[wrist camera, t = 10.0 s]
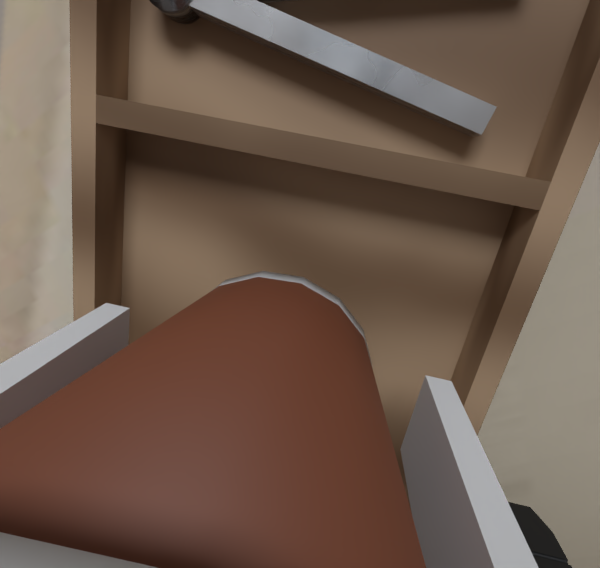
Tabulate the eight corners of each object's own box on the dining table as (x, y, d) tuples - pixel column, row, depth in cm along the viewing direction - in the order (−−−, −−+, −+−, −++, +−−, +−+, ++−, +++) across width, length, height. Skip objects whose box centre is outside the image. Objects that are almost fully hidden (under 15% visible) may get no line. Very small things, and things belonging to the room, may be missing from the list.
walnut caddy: (119, -184, 11) (66, -264, 9) (652, -106, 10) (731, -175, 8) (106, 428, 18) (75, 462, 16) (418, 504, 17) (428, 552, 15)
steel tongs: (154, 77, 13) (136, 70, 11) (164, -111, 11) (144, -140, 10) (476, 138, 12) (488, 136, 11) (536, -53, 10) (557, -77, 9)
